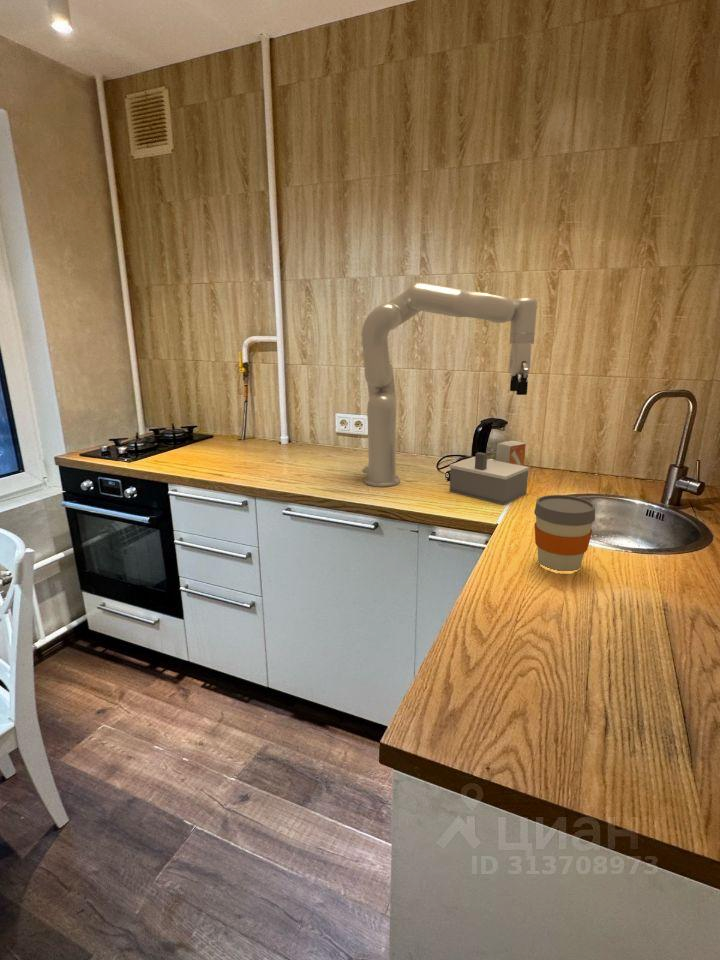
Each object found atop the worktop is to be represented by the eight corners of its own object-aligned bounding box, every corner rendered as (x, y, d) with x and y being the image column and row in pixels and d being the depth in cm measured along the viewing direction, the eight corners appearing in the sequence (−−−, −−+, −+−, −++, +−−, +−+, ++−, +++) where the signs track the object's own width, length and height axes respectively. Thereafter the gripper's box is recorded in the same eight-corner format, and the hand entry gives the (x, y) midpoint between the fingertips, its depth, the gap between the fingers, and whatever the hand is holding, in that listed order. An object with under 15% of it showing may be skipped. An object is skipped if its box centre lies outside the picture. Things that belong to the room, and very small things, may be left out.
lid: (449, 467, 167) (449, 449, 165) (473, 459, 177) (474, 442, 175) (505, 479, 153) (506, 460, 152) (528, 470, 163) (530, 451, 161)
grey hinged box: (449, 491, 170) (450, 468, 167) (473, 482, 179) (474, 460, 177) (503, 505, 156) (505, 480, 154) (526, 494, 166) (528, 470, 163)
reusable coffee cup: (583, 583, 109) (591, 517, 104) (523, 569, 115) (528, 507, 111) (592, 560, 119) (600, 499, 114) (537, 549, 125) (542, 491, 121)
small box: (507, 482, 178) (510, 446, 174) (494, 478, 183) (496, 443, 179) (523, 478, 182) (526, 443, 178) (509, 474, 187) (511, 440, 183)
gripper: (504, 338, 172) (501, 389, 177) (516, 339, 155) (512, 396, 160) (527, 338, 171) (523, 389, 176) (541, 339, 155) (536, 396, 160)
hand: (518, 392), depth 168 cm, fingers open, 9 cm apart
